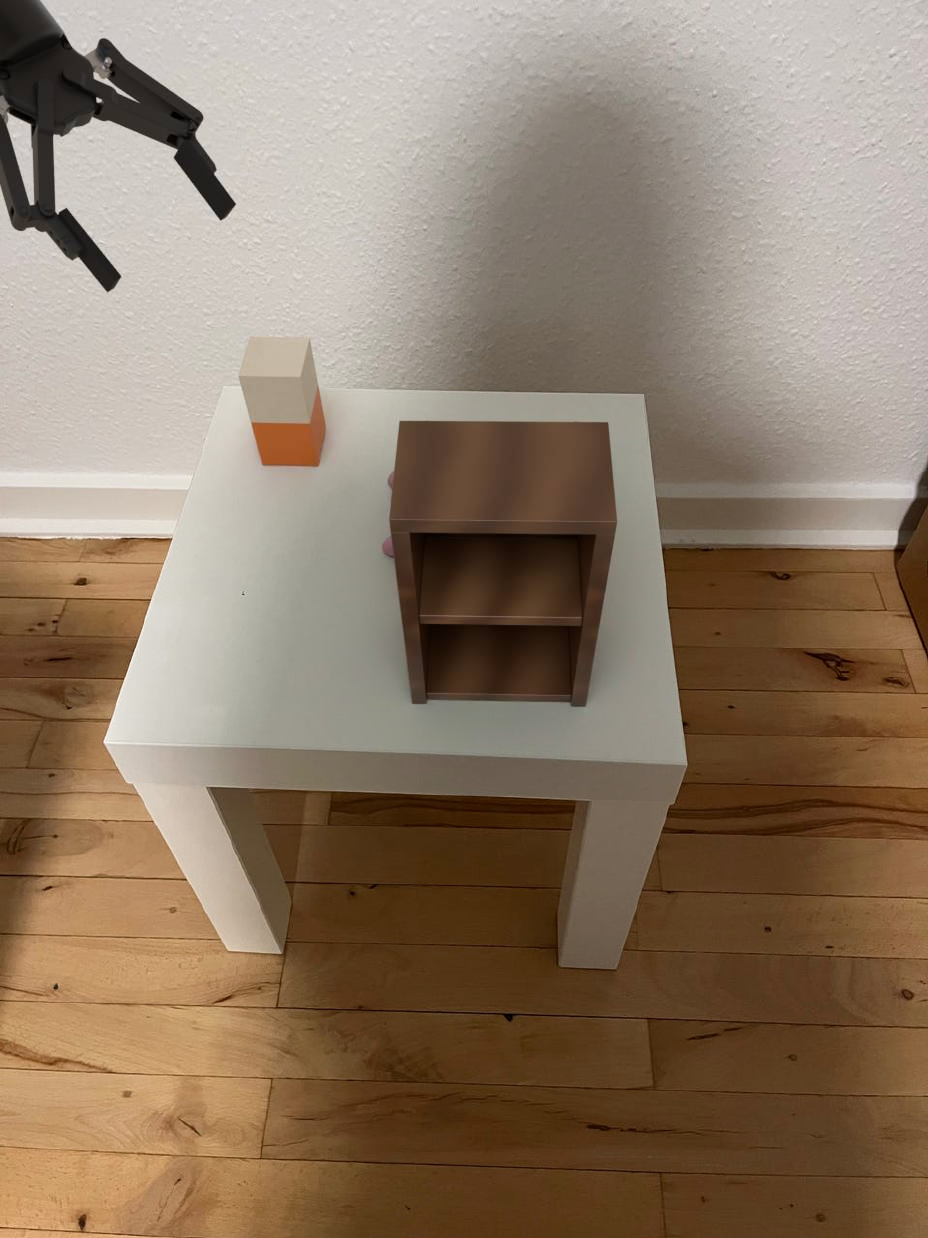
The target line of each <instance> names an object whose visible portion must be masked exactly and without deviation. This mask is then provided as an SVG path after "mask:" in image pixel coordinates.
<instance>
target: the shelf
mask: <svg viewBox="0 0 928 1238" xmlns="http://www.w3.org/2000/svg"><path fill="white" fill-rule="evenodd" d="M609 424H610V423H609V421H577V422H574V421H526V420H525V421H524V420H523V421H521V420H520V421H517V420H516V421H513V420H512V421H510V420H509V421H508V420H487V421H486V420H485V421H484V420H399V423H398V431H397V440H396V451H395V460H394V469H393V471H394V478H393V487H392V488H391V498H390V507H389V517H388V521H389V530H390V535H391V539H392V547H393V555H394V557H393V563H394V571H395V578H396V586H397V587H396V588H397V593H398V603H399V611H400V618H401V626H402V627H401V628H402V634H403V642H404V650H405V651H404V652H405V658H406V659H405V660H406V666H407V675H408V683H409V691H410V699H411V700H410V701H411V704H412V705H427V704H428V701H475V702H476V701H477V702H479V701H481V702H482V701H483V702H537V703H538V702H542V703H543V702H544V703H570V707H583V708H584V707H586V706H587V701H588V695H589V689H590V683H591V677H592V673H593V668H594V667H593V665H594V660H595V655H596V650H597V649H596V648H597V643H598V637H599V631H600V625H601V620H602V614H603V607H604V602H605V595H606V590H607V584H608V580H609V579H608V577H609V573H610V567H611V561H612V555H613V550H614V543H615V538H616V532H617V526H618V515H617V514H618V513H617V505H616V504H617V503H616V502H617V501H616V493H615V481H614V480H615V479H614V471H613V459H612V449H611V436H610V426H609Z"/></svg>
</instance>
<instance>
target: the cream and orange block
mask: <svg viewBox="0 0 928 1238" xmlns="http://www.w3.org/2000/svg"><path fill="white" fill-rule="evenodd" d="M238 381H239V384H240V387H241V391H242V395H243V398H244V399H243V400H244V401H245V406H246V410H247V413H248V418H249V420H250V424H251V428H252V431H253V435H254V439H255V443H256V446H257V451H258V454H259V457H260V462H261V465H262V466H291V467H292V466H293V467H294V466H295V467H296V466H297V467H299V466H300V467H319V464H320V461H321V460H320V459H321V455H322V450H323V444H324V440H325V435H326V430H327V424H326V420H325V414H324V409H323V403H322V398H321V392H320V387H319V382H318V376H317V370H316V365H315V360H314V354H313V349H312V343H311V338H310V337H309V336H308V337H307V336H306V337H305V336H304V337H303V336H302V337H299V336H298V337H297V336H296V337H295V336H249V338H248V342H247V345H246V349H245V351H244V355H243V358H242V361H241V365H240V368H239V372H238Z"/></svg>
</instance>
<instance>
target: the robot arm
mask: <svg viewBox="0 0 928 1238" xmlns="http://www.w3.org/2000/svg"><path fill="white" fill-rule="evenodd" d="M94 73H96V74H98V76H99V78H100V79H102V80H105V79H107V80H108V81H109V82H110V83H111V84H112V85H113V86H112V85H109V84H107V83H105V82H102V81H100V80H98V79H95V74H94ZM115 87H116V88H117V89H119V90H120V91H121V92H123V93H124V94H125V95H127V96H125V95H123V94H120V93H118V92H117V90H116V89H115ZM128 96H129V97H128ZM97 99H99V100H101V101H100V102H98V100H97ZM8 114H9V115H10V116H12V117H14V118H16V119H18V120H20V121H23V122H25V123H26V124H29V125H30V144H31V146H30V147H31V149H32V176H33V177H32V178H33V180H32V181H33V204H30V201H29V197H28V194H27V190H26V187H25V183H24V180H23V176H22V173H21V169H20V166H19V161H18V158H17V155H16V152H15V149H14V145H13V141H12V138H11V135H10V131H9V128H8V122H9V116H8ZM204 117H205V116H204V114H203V112H201V110H199V109H198V108H196V107H195V106H194V105H192V104H191V103H189V102H188V101H187V100H185V98H182V97H181V96H179V95H178V94H177V93H175V92H174V91H172V90H171V89H170V88H168V87H166V86H165V85H163V84H162V83H161V82H159V81H158V80H157V79H155V78H154V77H152V76H151V75H149V74H148V73H146V71H143V70H142V69H141V68H140V67H138V66H136V65H135V64H133V63H132V62H131V61H129V60H128V59H127V58H125V56H124V55H123V54H122V53H121V52H120V51H119V49H118V48H117V47H116V46H115V45H114V43H112V41H111V40H109V39H108V38H107V37H101V38H99V40H98V42H97V45H96V47H95V48H94V49H93V50H91V51H89V53H87V54H85V55H83V54H82V53H80V52H78V51H77V50H76V49H75V48H74V47H73V46H72V44H71V43H70V41H69V39H68V37H67V35H66V33H65V31H64V30H63V28H62V27H61V26H60V24H59V23H58V22H57V20H56V19H55V17H54V16H53V15H52V14H51V13H50V11H49V9H47V7H46V5H45V4H44V3H43V2H42V0H0V190H1V193H2V196H3V200H4V203H5V207H6V210H7V214H8V217H9V220H10V224H11V225H12V228H13V229H14V230H15V231H17V232H25V231H26V230H27V229H31V228H34V229H35V230H36V231H38V232H40V233H46V234H47V235H48V236H49V237H50V239H51V240H52V241H53V243H54V244H55V245H56V246H57V248H58V249H59V250H60V251H61V252H62V254H63V255H64V256H65V257H66V258H67V259H69V260H70V261H74V260H76V259H79V260H80V261H81V262H82V263H83V265H84V266H85V267H86V268H87V270H88V271H89V272H90V273H91V274H92V276H93V277H94V278H95V279H96V280H97V283H99V284H100V286H101V287H102V288H103V289H104V290H105V292H106V293H109V292H110V291H112V290H114V289H115V288H116V287H117V285H118V283H119V281H120V279H122V274H121V273H120V272H119V271H118V270H117V268H116V266H114V265H113V263H112V262H111V261H110V260H109V259H108V257H107V256H106V255H105V253H103V251H102V250H101V248H100V247H99V246H98V244H97V243H96V242H95V241H94V240H93V239H92V237H91V236H90V235H89V234H88V232H87V231H86V230H85V228H84V227H83V226H82V225H81V223H80V222H79V221H78V220H77V219H76V217H75V216H74V214H72V212H71V211H70V210H69V208H67V207H65V208H64V209H62V210H60V211H58V212H56V183H55V182H56V181H55V151H54V150H55V149H54V135H55V136H59V137H60V138H62V137H65V136H67V135H69V134H70V132H71V131H72V130H73V129H74V128H79V127H84V126H86V125H87V124H89V123H91V120H92V118H94V119H95V120H98V121H101V122H107V121H108V122H111V123H114V124H116V125H119V126H121V127H123V128H126V129H128V130H130V131H133V132H135V133H137V134H140V135H141V136H144V137H147V138H149V139H152V140H154V141H156V142H158V143H161V144H163V145H166V146H167V147H170V148H172V149H175V150H177V151H176V152H175V154H174V156H173V157H172V158H173V160H174V161H175V162H176V163H177V165H178V166H179V168H180V169H181V170H182V172H183V173H184V174H185V176H186V177H187V178H188V179H189V181H190V182H191V184H192V185H193V186H194V188H195V189H196V190H197V192H198V193H199V194H200V195H201V197H202V199H204V201H205V202H206V203H207V205H208V206H209V208H210V209H211V210H212V212H213V213H214V214H215V215H216V217H217V218H218V219H219V221H220V222H221V221H223V220H224V219H226V218H227V217H228V216H229V214H230V213H231V212H232V211H233V210H234V208H235V207H236V205H237V203H236V202H235V200H234V199H233V197H232V196H231V195H230V193H229V192H228V191H227V190H226V188H225V187H224V186H223V184H222V183H221V181H220V180H219V179H218V177H217V176H216V175H215V174H216V172H217V171H218V169H217V166H216V163H215V162H214V161H213V159H212V158H211V157H210V155H209V154H208V153H207V151H206V150H205V148H204V147H203V146H202V144H201V143H200V142H199V140H198V139H197V134H196V133H197V131H198V129H199V128H200V127H201V125H202V123H203V121H204V119H205V118H204Z"/></svg>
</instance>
